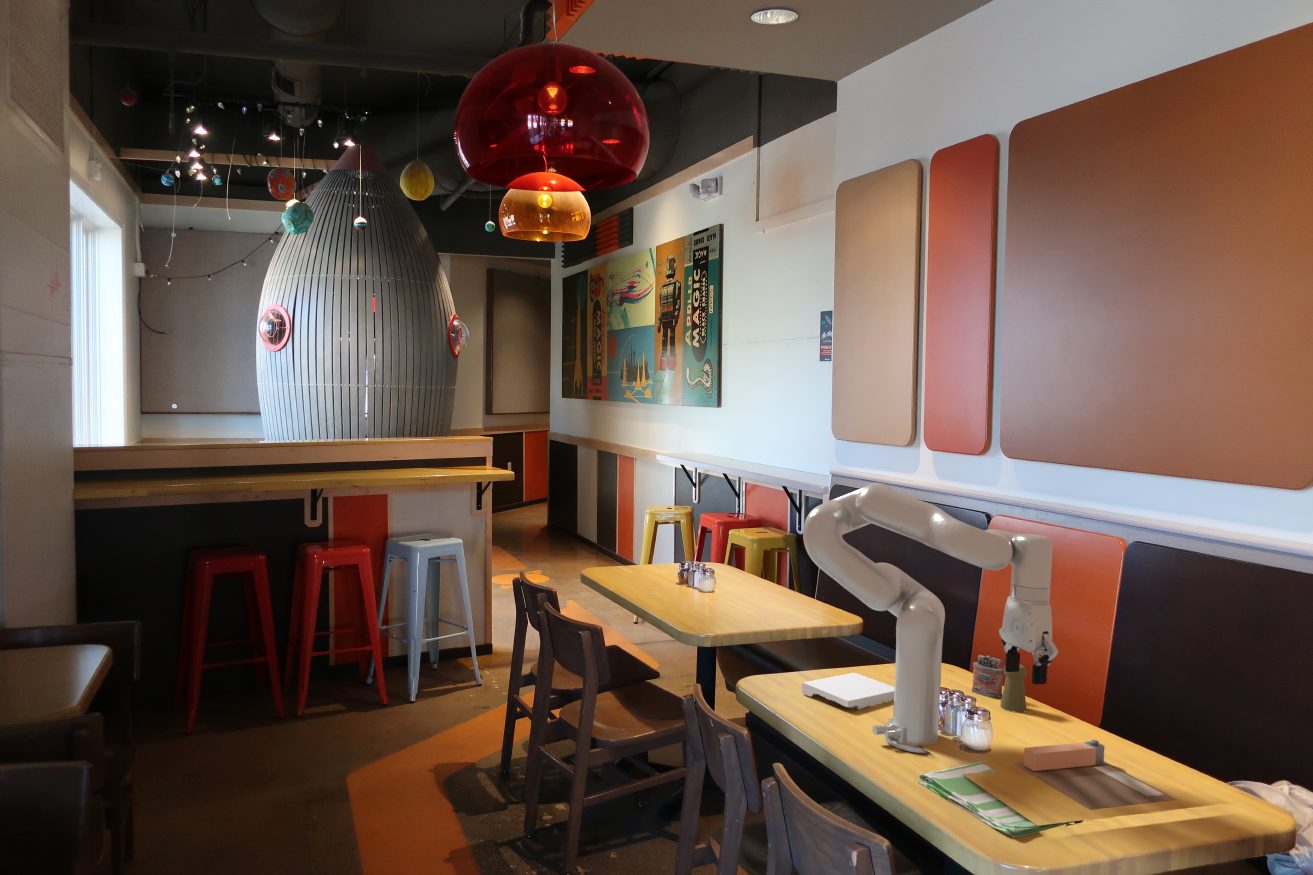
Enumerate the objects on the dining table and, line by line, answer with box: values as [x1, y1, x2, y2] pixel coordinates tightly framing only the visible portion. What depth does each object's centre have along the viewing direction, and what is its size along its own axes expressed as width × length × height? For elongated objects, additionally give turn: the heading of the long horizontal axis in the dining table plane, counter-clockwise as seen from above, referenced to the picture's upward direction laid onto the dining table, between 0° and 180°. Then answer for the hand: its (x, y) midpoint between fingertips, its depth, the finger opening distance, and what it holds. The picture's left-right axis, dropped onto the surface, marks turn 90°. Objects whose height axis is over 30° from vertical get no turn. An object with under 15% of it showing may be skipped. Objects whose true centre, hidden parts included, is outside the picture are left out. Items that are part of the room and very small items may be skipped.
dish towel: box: [917, 761, 1085, 839], centre depth 157 cm, size 18×23×3 cm
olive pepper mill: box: [999, 664, 1028, 713], centre depth 209 cm, size 6×6×11 cm
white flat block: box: [801, 672, 895, 710], centre depth 213 cm, size 15×3×20 cm
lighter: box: [971, 654, 1005, 700], centre depth 219 cm, size 8×3×10 cm, turn 40°
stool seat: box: [1014, 760, 1178, 811], centre depth 164 cm, size 20×20×2 cm
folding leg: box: [1023, 739, 1105, 771], centre depth 171 cm, size 18×4×4 cm, turn 106°
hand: (1025, 676), depth 176 cm, fingers open, 7 cm apart
